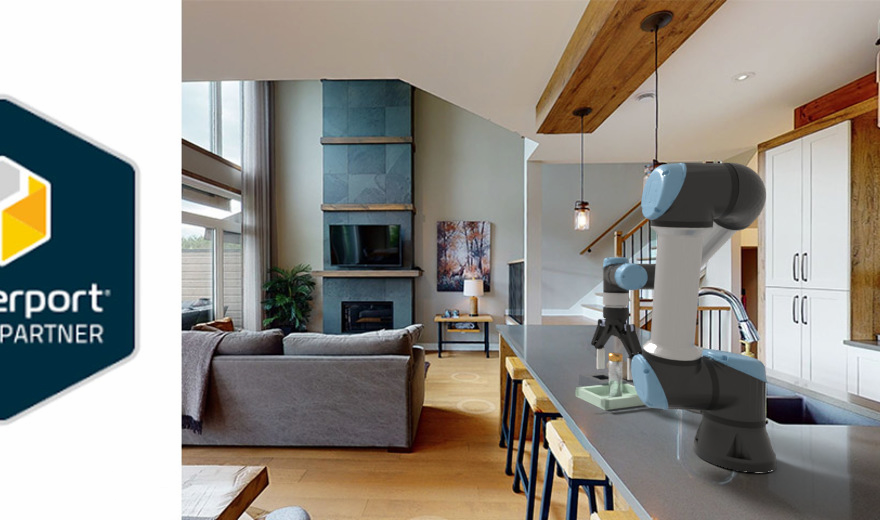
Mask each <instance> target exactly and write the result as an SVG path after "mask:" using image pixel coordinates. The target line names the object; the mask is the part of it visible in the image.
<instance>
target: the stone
mask: <svg viewBox="0 0 880 520" xmlns="http://www.w3.org/2000/svg"><path fill="white" fill-rule="evenodd" d="M605 367H606V368H607V370H608V371H609V361H608V362H606V364H605ZM622 379H623V380H627V361H625V360H623V361H622Z"/></svg>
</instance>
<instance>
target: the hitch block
mask: <svg viewBox="0 0 880 520" xmlns="http://www.w3.org/2000/svg"><path fill="white" fill-rule="evenodd" d="M623 383H627V384H628V380H627V379H622V384H623ZM578 385H581V387H586V386H596V385H602V386H604V385H609V373H606V372H604V371H598V372H597V371H596V372H588V373H579V374H578Z"/></svg>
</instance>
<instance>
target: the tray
mask: <svg viewBox="0 0 880 520" xmlns="http://www.w3.org/2000/svg"><path fill="white" fill-rule="evenodd" d="M575 397H576V398H578V399H580V400H582V401H585V402H587V403H589V404H592V405H593V406H596V407H598V408H599V409H601V410H604V411H608V410H616V409H617V410H618V409H622V408H631V407H638V406H646V405H645V404H644V403H643V402H642V401H641V400H640V398H639V396H638V394H637V392H636V389H635V386H634V384H633V385H632V384H630V383H628V382H627V383H623V384H622V397H613V398H608V397H609V385H604V386H602V385H596V386H586V387H584V386H578V387H575Z"/></svg>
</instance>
